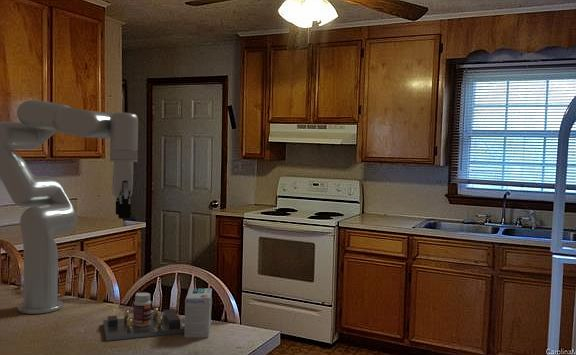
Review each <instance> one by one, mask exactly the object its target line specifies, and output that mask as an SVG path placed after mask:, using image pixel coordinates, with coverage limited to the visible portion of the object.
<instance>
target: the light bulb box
mask: <svg viewBox="0 0 576 355" xmlns="http://www.w3.org/2000/svg"><path fill="white" fill-rule="evenodd" d="M212 291H213V289H212V288H201V287H200V288H194V287H193V288H188V290H187V294H186V297H184V298H185V299H184V333H183V335H184V336H183V337H184V338H186V339H187V338H191V339H192V338H204V339H205V338H209V336H210V330H211V325H212V324H211V322H212V295H213V294H212V293H213V292H212Z"/></svg>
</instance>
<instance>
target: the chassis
mask: <svg viewBox="0 0 576 355" xmlns="http://www.w3.org/2000/svg"><path fill="white" fill-rule="evenodd" d="M158 311H159V308H157V307H154V308H153V314H152V315H151V324H150V325H148V326H143V327H139V326H135V325H134V324H133V317H130V314H129V313H130V312H129V310H128V309H126V310H124V312H123V313H124V315H123V317H124V318H118V316H117V315H108V316H107V319H104V320H103V321H102V324H103V331H104V336H105V340H106V342H109V341H121V340H128V339H139V338H149V337H161V336H169V335H180V334H184V330H185V327H183V325H182V323H181V319H180V317H179V316H178V314H177V312H176V311H175V309H164V310H163V311H162V314H161V315H159V312H158Z"/></svg>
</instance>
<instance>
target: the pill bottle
mask: <svg viewBox="0 0 576 355" xmlns="http://www.w3.org/2000/svg"><path fill="white" fill-rule="evenodd" d="M134 297H135V301H134V302H133V314H132V315H133V317H132V318H133V324H134V325H135V326H139V327H143V326H148V325H150V324H151V316H152V300H151V293H149V292H137V293H135V295H134Z"/></svg>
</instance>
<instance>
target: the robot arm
mask: <svg viewBox="0 0 576 355" xmlns="http://www.w3.org/2000/svg"><path fill="white" fill-rule="evenodd" d="M16 116H17V117H16V118H18V120H19V121H18V122H17V121H6V120H4V121H3V120H2V121H0V181H1V182H2V184H3V186H4V187H5V190H6V191H7V194H8V195H9V197H10V198H11V200H12V202H13V203H14V204H15V205H17V206H18V207H23V208H24V207H25V208H27V207H28V208H27V209H25V210H24V211H23V213H22V214H21V216H20V220H19V224H20V225H19V226H20V232H21V236H22V243H23V281H22V282H23V291H22V292H23V295H22V300H23V302H21V303H19V304H18V305H17V311H18V312H19V313H22V314H27V315H28V314H29V315H30V314H32V315H34V314H37V315H38V314H46V313H51V312H55V311H58V310H61V309H62V308H63V307H64V306H63V305H64V302H63V301H62V300H59V299H58V294H59V293H58V290H59V289H58V285H59V284H58V283H59V280H58V278H59V277H58V276H59V273H58V272H59V260H58V259H59V253H58V252H59V251H58V245H57V243H56V241H55V239H54V237H53V236H54V235H61V234H66V233H68V232H71V231H73V230H74V229H75V227H76V225H77V222H78V215H77V211H76V210H75V208H74V206H73V204H72V202H71V200H70V198H69V197H68V195H67V193H66V191H65V190H64V187H63V186H62V185H61V183H60V182H59V181H58V180H57V179H56V178H54V177H52V176H50V175H35V174H34V173H33V171H31V168H30V167H29V166H28V163H27V162H26V161H25V160H24V158H23V157H22V156H20V154H18V153H16V152H15V151H14V150H34V149H37V148H39V147H40V146H42V145H43V144H45V143H46V141H47V140H49V139H50V138H51V137H52V136H54V134H55V133H60V134H66V135H71V136H75V137H80V138H81V137H82V138H89V139H90V138H94V139H95V138H96V139H108V140H110V141H109V161H110V162H113V164H112V167H113V168H112V188H111V195H113V196H114V197H115V198H116V199H115V215H118V219H119V220H121V219H123V220H125V219H127V220H128V219H131V217H132V216H131V215H132V214H131V210H132V205H131V197H132V195H133V188H134V187H133V186H134V163H138V156H139V152H138V149H139V148H138V145H139V117H138V115H137V114H135V113H132V112H114V113H110V112H104V111H97V110H87V109H81V108H73V107H71V106H70V105H68V104H64V103H55V102H51V101H44V100H37V99H28V100H25V101H23V102H22V103H20V104H19V105H18V106H17V109H16Z"/></svg>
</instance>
